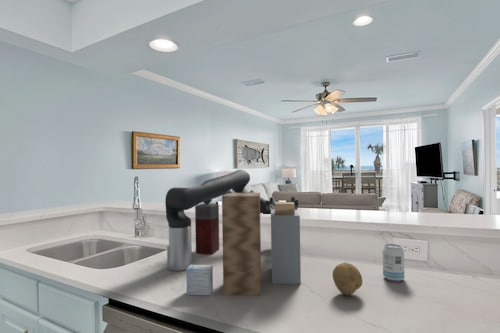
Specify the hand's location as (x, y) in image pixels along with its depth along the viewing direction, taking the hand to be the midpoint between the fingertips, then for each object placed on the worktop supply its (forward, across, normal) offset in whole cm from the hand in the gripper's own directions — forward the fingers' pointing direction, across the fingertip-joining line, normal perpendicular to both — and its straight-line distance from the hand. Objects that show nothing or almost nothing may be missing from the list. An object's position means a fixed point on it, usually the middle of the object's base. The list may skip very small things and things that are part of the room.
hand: (282, 198), depth 120 cm
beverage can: (-2, +39, +32) cm, 50 cm away
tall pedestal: (+6, -15, +36) cm, 39 cm away
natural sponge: (+10, +19, +38) cm, 44 cm away
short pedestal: (-4, 0, +30) cm, 30 cm away
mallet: (+5, 0, +7) cm, 9 cm away
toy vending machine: (-32, -36, +14) cm, 50 cm away
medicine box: (+10, -29, +38) cm, 49 cm away
